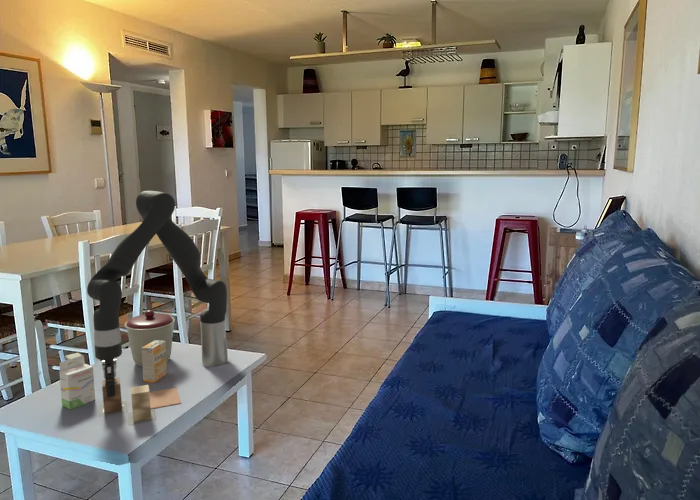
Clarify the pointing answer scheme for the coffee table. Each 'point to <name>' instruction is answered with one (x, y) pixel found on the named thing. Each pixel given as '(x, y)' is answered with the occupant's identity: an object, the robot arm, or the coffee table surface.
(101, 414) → the code tile
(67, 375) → the ink box
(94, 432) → the coffee table surface
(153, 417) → the code tile
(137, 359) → the canister
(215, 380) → the coffee table surface
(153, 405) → the coaster
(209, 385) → the coffee table surface
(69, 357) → the skincare box
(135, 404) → the oak block
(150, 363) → the supplement box
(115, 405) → the walnut block
